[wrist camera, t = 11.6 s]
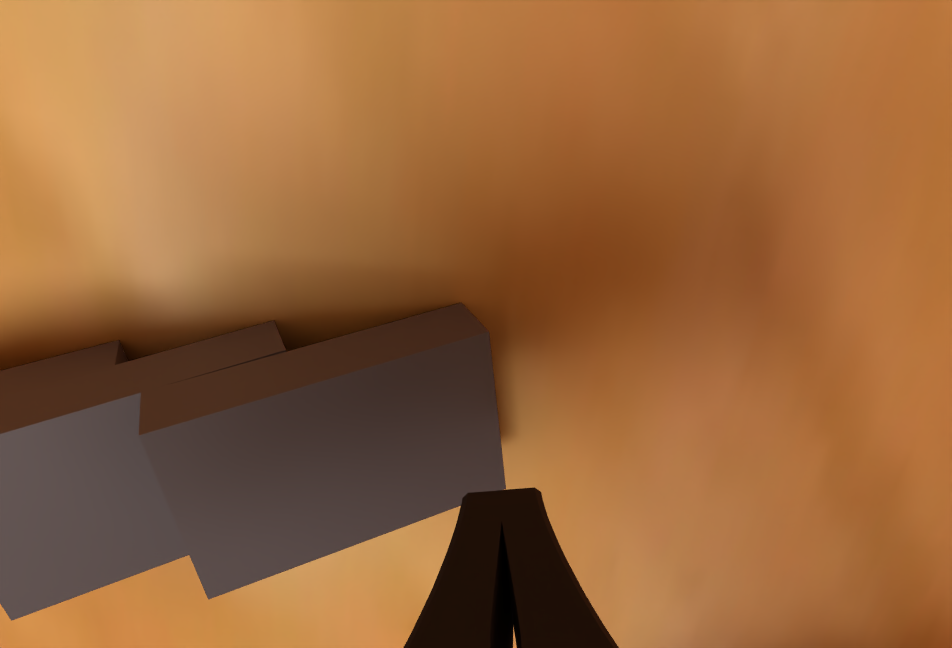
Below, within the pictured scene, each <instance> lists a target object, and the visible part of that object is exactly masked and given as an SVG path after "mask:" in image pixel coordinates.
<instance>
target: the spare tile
mask: <svg viewBox="0 0 952 648" xmlns="http://www.w3.org/2000/svg"><path fill="white" fill-rule="evenodd" d="M124 362H128V360H127V358H126V355H125V353H124V350H123V348H122V346H121V343H120V341H119V340H118V341H114V342H110V343H106V344H102V345H98V346H94V347H90V348H87V349H83V350H79V351H75V352H71V353H67V354H63V355H59V356H56V357H52V358H48V359H44V360H40V361H36V362H32V363H29V364H25V365H21V366H17V367H13V368H9V369H5V370H1V371H0V397H3V396H7V395H10V394H14V393H17V392H21V391H25V390H28V389H32V388H35V387H39V386H42V385H46V384H49V383H53V382H57V381H60V380H64V379H67V378H71V377H74V376H78V375H82V374H85V373H89V372H92V371H96V370H99V369H103V368H106V367H110V366H114V365H117V364H121V363H124Z"/></svg>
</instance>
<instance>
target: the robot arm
mask: <svg viewBox="0 0 952 648" xmlns="http://www.w3.org/2000/svg"><path fill="white" fill-rule="evenodd" d="M513 625H514V632H515V638H516V645H517V648H619V647H618V646H617V644H616V643H615V641H614V640H613V638H612V637H611V635H610V634H609V632H608V631H607V629H606V628H605V626H604V625H603V623H602V621H601V620H600V618H599V616H598V615H597V613H596V612H595V610H594V608H593V607H592V605H591V603H590V602H589V600H588V598H587V597H586V595H585V593H584V591H583V590H582V588H581V586H580V584H579V582H578V580H577V578H576V577H575V575H574V573H573V571H572V569H571V567H570V565H569V563H568V561H567V559H566V557H565V555H564V553H563V551H562V549H561V547H560V545H559V543H558V540H557V538H556V536H555V533H554V531H553V529H552V526H551V524H550V521H549V519H548V516H547V513H546V510H545V507H544V503H543V500H542V495H541V492H540V491H539V490H537V489H536V488H523V489H510V490H497V491H484V492H471V493H467V494H466V495H465V496H464V497H463V498H462V503H461V508H460V512H459V516H458V520H457V524H456V527H455V530H454V533H453V536H452V539H451V542H450V545H449V548H448V551H447V554H446V556H445V559H444V561H443V564H442V566H441V569H440V571H439V574H438V576H437V578H436V581H435V583H434V586H433V588H432V591H431V593H430V595H429V597H428V599H427V601H426V603H425V606H424V608H423V610H422V612H421V614H420V616H419V618H418V620H417V622H416V624H415V626H414V629H413V631H412V633H411V635H410V636H409V638H408V640H407V642H406V644H405V646H404V648H513Z"/></svg>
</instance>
